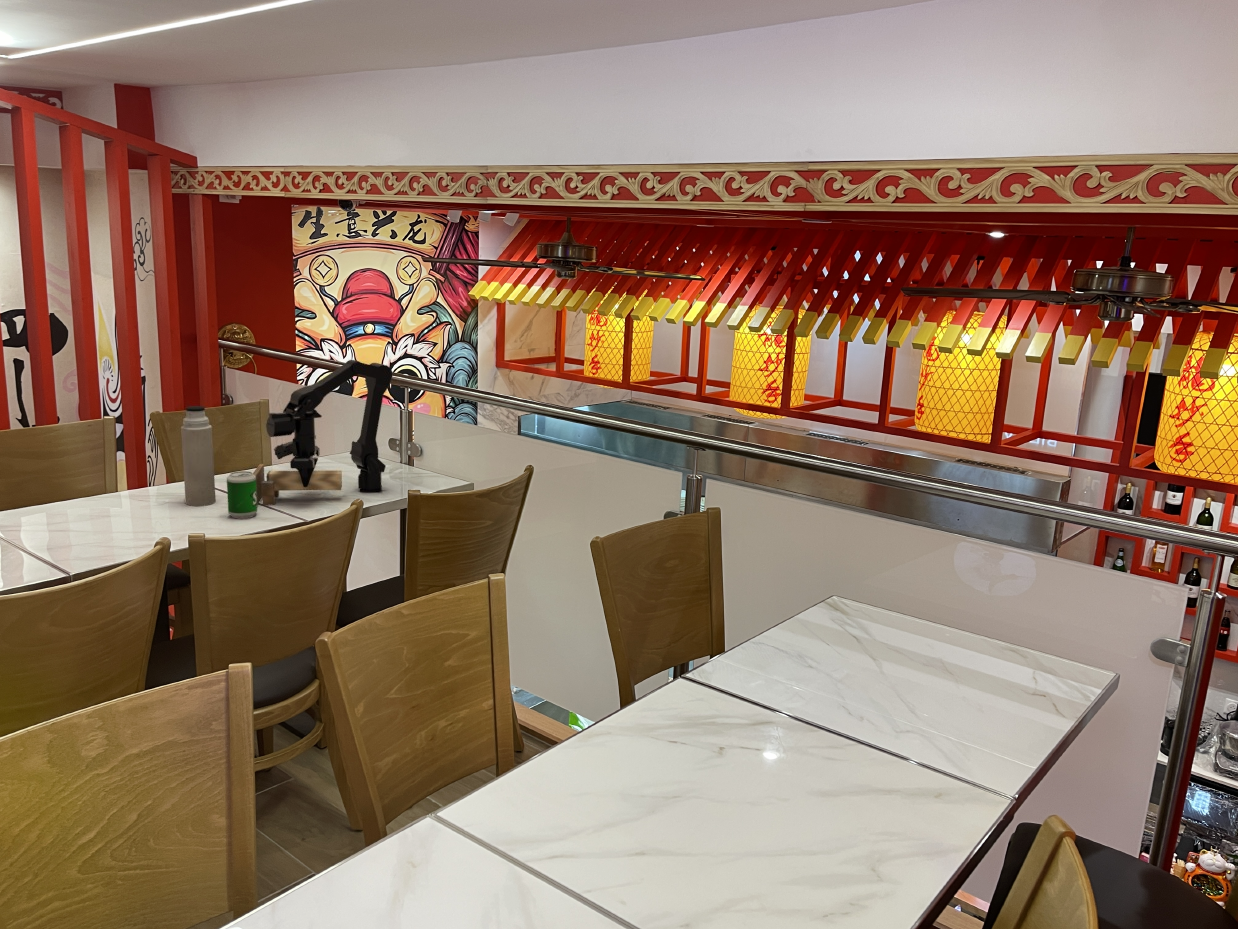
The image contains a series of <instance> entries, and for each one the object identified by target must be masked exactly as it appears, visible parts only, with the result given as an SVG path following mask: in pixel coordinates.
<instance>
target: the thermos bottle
mask: <svg viewBox="0 0 1238 929" xmlns="http://www.w3.org/2000/svg"><path fill="white" fill-rule="evenodd" d="M205 409H206V408H205V406H201V405H195V406H194V405H191V406H186V407H185V411H186V412H185V414H186V416H185V418H183V420H182V424H183V425H182V426H181V427H180V431H181V432H180V433H181V434H180V435H181V448H182V450H181V451H182V464H183V481H184V499H185V500H184V501H185V504H186V505H187V504H188V505H187V506H190V505H193V506H192V507H202V506H204V505H205V506H210V505H212V504H215V503H216V502H217V500H216V498H217V497H216V485H215V484H216V482H215V481H216V480H215V470H214V468H215V467H214V466H215V465H214V447H213V446H214V445H213V444H214V443H213V426H212V425H211V424H210V420H209V417H208V416H206V412H205Z"/></svg>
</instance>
